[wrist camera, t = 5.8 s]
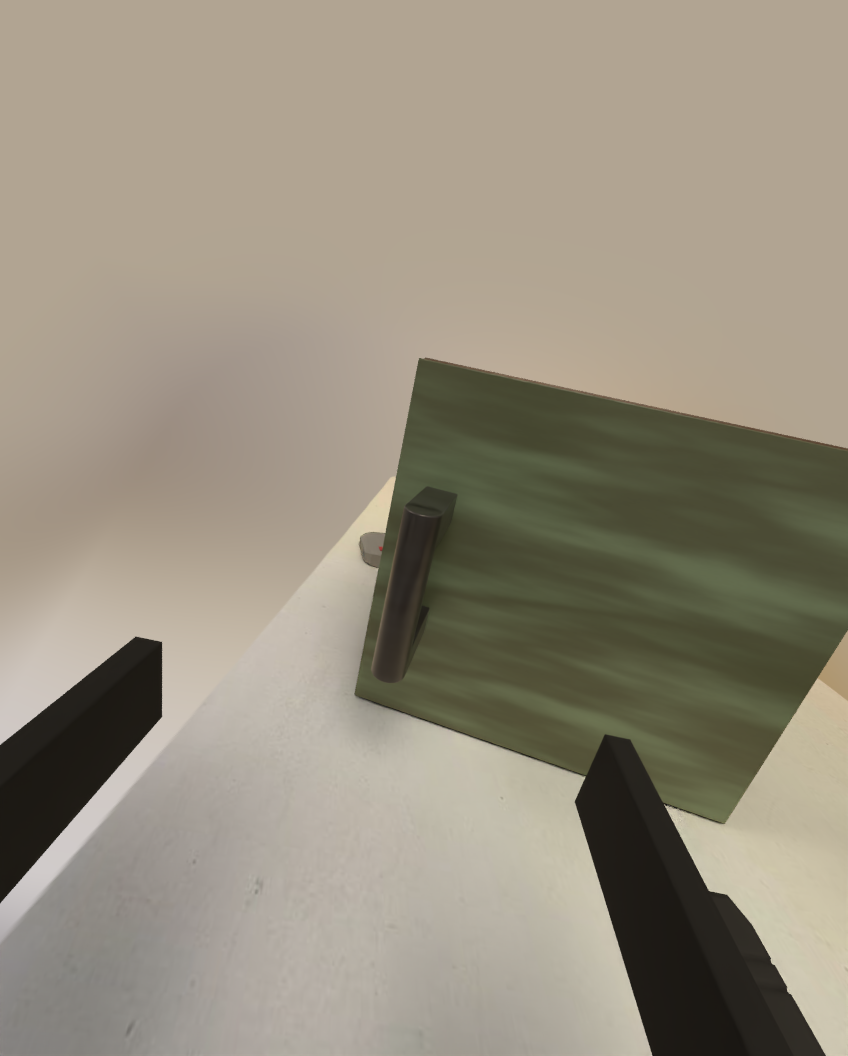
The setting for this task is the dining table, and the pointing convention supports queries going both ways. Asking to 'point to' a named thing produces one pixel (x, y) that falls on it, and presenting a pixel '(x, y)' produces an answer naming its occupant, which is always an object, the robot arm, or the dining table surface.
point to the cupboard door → (606, 580)
